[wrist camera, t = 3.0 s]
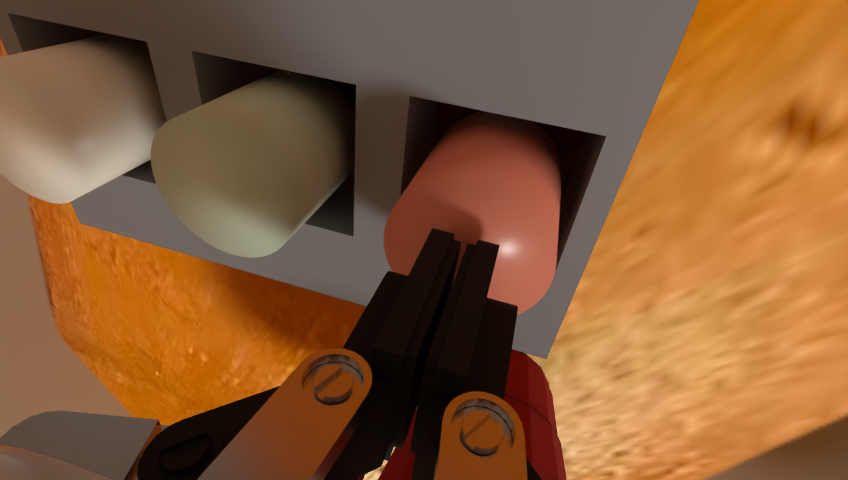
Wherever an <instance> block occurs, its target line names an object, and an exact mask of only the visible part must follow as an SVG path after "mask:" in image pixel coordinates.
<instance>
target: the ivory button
mask: <svg viewBox="0 0 848 480" xmlns="http://www.w3.org/2000/svg"><path fill="white" fill-rule="evenodd" d="M166 122H167V121H166V117H165V113H164V109H163V105H162V101H161V97H160V93H159V89H158V85H157V81H156V77H155V73H154V69H153V65H152V61H151V57H150V53H149V49H148V45H147V43H146V42H144V41H141V40H136V39H132V38H127V37H122V36H117V35H112V34H106V35H101V36H97V37H92V38H87V39H82V40H78V41H73V42H68V43H64V44H59V45H54V46H49V47H45V48H40V49H35V50H31V51H26V52H21V53H17V54H12V55H7V56H2V57H0V173H1V175H3V176H4V177H5V178H6V179H7V180H9V181H10V182H12V183H13V184H14V185H15V186H17V187H18V188H20V189H22V190H23V191H25V192H26V193H28V194H30V195H32V196H34V197H36V198H39V199H41V200H44V201H47V202H52V203H68V202H71V201H73V200H75V199H77V198H79V197H81V196H83V195H84V194H86V193H88V192H90V191H92V190H94V189H96V188H98V187H100V186H101V185H103V184H105V183H107V182H109V181H111V180H113V179H115V178H117V177H119V176H120V175H122V174H124V173H126V172H128V171H130V170H132V169H134V168H136V167H137V166H139V165H141V164H143V163H145V162H147V161H149V160H151V146H152V141H153V139H154V136H155V134H156V133H157V131H158V130H159V128H160V127H161V126H162V125H163V124H164V123H166Z"/></svg>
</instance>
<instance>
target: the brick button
mask: <svg viewBox="0 0 848 480" xmlns="http://www.w3.org/2000/svg"><path fill="white" fill-rule="evenodd" d="M561 185H562V165H561V160H560V156H559V153H558V151H557V148H556V147H555V145H554V143H553V141H552V140H551V139H550V137H549V136H548V135H547V134H546V133H545V131H544V130H543V129H542V128H540V127H539V126H538V125H536V124H535V123H534V122H532V121H530V120H525V119H520V118H516V117H511V116H506V115H501V114H496V113H491V112H486V111H483V112H478V113H474V114H471V115H468V116H466V117H464V118H462V119H460V120H459V121H457V122H455V123H454V124H453V125H452V126H450V127H449V128H448V129H447V130H446V131H445V132H444V134H443V135H442V136H441V138H440V139H439V141H438V142H437V144H436V145H435V147H434V148H433V150H432V151H431V153H430V154H429V156H428V157H427V159H426V160H425V161H424V163H423V164H422V166H421V167H420V169H419V170H418V172H417V173H416V175H415V176H414V178H413V179H412V181H411V182H410V184H409V185H408V187H407V188H406V190H405V191H404V193H403V194H402V196H401V197H400V199H399V200H398V202H397V203H396V204H395V206H394V207H393V209H392V211H391V213H390V214H389V216H388V219H387V222H386V225H385V230H384V250H385V255H386V258H387V261H388V264H389V266H390V268H391V270H392V272H396V273H399V274H403V275H407V276H408V275H409V273H410V271H411V269H412V267H413V265H414V263H415V261H416V259H417V257H418V255H419V253H420V251H421V249H422V247H423V245H424V243H425V241H426V239H427V237H428V235H429V233H430V231H431V230H432V228H435V229H439V230H443V231H446V232H450V233H454V240H458V241H461V247H460V252H459V257H458V262H457V267H456V272H455V276H454V280H455V277H456V275H457V272H458V269H459V266H460V263H461V261H462V258H463V255H464V252H465V249H466V247H467V244H468V243H470V244H474V245H476V244H477V241H478V240H482V241H486V242H490V243H494V244H498V245H500V246H499V250H498V254H497V258H496V262H495V267H494V271H493V275H492V279H491V283H490V287H489V291H488V295H487V298H491V299H494V300H498V301H502V302H505V303H509V304H513V305H516V306H518V312H517V315H518V314H521V313H523V312H525V311H526V310H528V309H530V308H531V307H532V306H534V305H535V304H536V303H537V302H538V301H539V300H540V299H541V298H542V297H543V296H544V295H545V293H546V292H547V290H548V289H549V287H550V285H551V283H552V281H553V278H554V274H555V271H556V261H557V246H558V231H559V215H560V200H561ZM453 283H454V281H453Z"/></svg>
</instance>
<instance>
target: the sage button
mask: <svg viewBox="0 0 848 480" xmlns="http://www.w3.org/2000/svg"><path fill="white" fill-rule="evenodd" d="M355 119H356V115H355V113H354V111H353V109H352V108H351V106H350V104H349V103H348V101H347V100H346V99H345V97H344V96H343V95H342V94H341V93H340V92H339V91H338V90H337V89H336V88H335V87H334V86H333V85H332V84H331V83H329V82H328V81H326V80H325V79H323V78H321V77H316V76H311V75H307V74H302V73H297V72H292V71H287V70H279V71H276V72H274V73H271V74H269V75H267V76H265V77H263V78H260V79H258V80H256V81H254V82H252V83H249V84H247V85H245V86H243V87H241V88H238V89H236V90H234V91H232V92H230V93H227V94H225V95H223V96H221V97H219V98H216V99H214V100H212V101H210V102H208V103H205V104H203V105H201V106H199V107H197V108H194V109H192V110H190V111H188V112H186V113H184V114H181V115H179V116H177V117H175V118H173V119H171V120H169V121H167V122H166V123H164V124H163V125H162V126H161V127H160V128H159V130H158V131H157V133H156V134H155V136H154V139H153V141H152V146H151V167H152V171H153V175H154V178H155V181H156V184H157V186H158V189H159V191H160V193H161V195H162V196H163V198H164V200H165V202H166V203H167V205H168V206H169V207H170V209H171V210H172V212H173V213H174V214H175V215H176V217H177V218H178V219H179V220H180V221H181V222H182V223H183V224H184V225H185V226H186V227H187V228H188V229H189V230H190V231H191V232H193V233H194V234H195V235H196V236H198V237H199V238H200V239H202V240H203V241H205V242H206V243H208V244H210V245H211V246H213V247H215V248H217V249H219V250H222V251H224V252H226V253H229V254H232V255H236V256H241V257H249V258H252V257H263V256H267V255H270V254H272V253H274V252H276V251H277V250H279V249H280V248H281V247H282V246H283V245H284V244H285V243H286V242H287V241H288V240H289V239H290V238H291V237H292V236H293V235H294V234H295V232H296V231H297V230H298V229H299V228H300V227H301V226H302V225H303V224H304V223H305V222H306V221H307V220H308V219H309V218H310V217H311V216H312V215H313V213H314V212H315V211H316V210H317V209H318V208H319V207H320V206H321V205H322V204H323V203H324V202H325V201H326V200H327V199H328V198H329V197H330V195H331V194H332V193H333V192H334V191H335V190H336V189H337V188H338V187H339V186H340V185H341V184H342V183H343V182H344V181H345V180H346V179H347V178H348V176H349V175H350V174H351V173H352V172H353V171H354V169H355Z"/></svg>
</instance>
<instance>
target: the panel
mask: <svg viewBox="0 0 848 480" xmlns="http://www.w3.org/2000/svg"><path fill="white" fill-rule="evenodd" d="M698 1H699V0H0V38H1V40H2V42H3V45H4V47H5V49H6V52H7V54H8V55H12V54H17V53H21V52H26V51H31V50H35V49H40V48H45V47H49V46H54V45H59V44H64V43H68V42H73V41H78V40H82V39H87V38H92V37H97V36H101V35H106V34H112V35H117V36H122V37H127V38H132V39H136V40H141V41H146V42H147V45H148V49H149V53H150V57H151V61H152V65H153V69H154V73H155V77H156V81H157V85H158V89H159V93H160V97H161V101H162V105H163V109H164V113H165V117H166V121H169V120H171V119H173V118H175V117H177V116H179V115H181V114H184V113H186V112H188V111H190V110H192V109H194V108H197V107H199V106H201V105H203V104H205V103H208V102H210V101H212V100H214V99H216V98H219V97H221V96H223V95H225V94H227V93H230V92H232V91H234V90H236V89H238V88H241V87H243V86H245V85H247V84H249V83H252V82H254V81H256V80H258V79H260V78H263V77H265V76H267V75H269V67H272V68H277V69H282V70H287V71H292V72H297V73H302V74H307V75H311V76H316V77H321V78H326V79H331V80H336V81H341V82H345V83H350V84H355V85H356V119H355V177H351V176H348V178H347V179H346V180H345V181H344V182H343V183H342V184H341V185H340V186H339V187H338V188H337V189H336V190H335V191H334V192H333V193H332V194H331V195H330V197H329V198H328V199H327V200H326V201H325V202H324V203H323V204H322V205H321V206H320V207H319V208H318V209H317V210H316V211H315V212H314V213H313V215H312V216H311V217H310V218H309V219H308V220H307V221H306V222H305V223H304V224H303V225H302V226H301V227H300V228H299V229H298V230H297V231H296V232H295V234H294V235H293V236H292V237H291V238H290V239H289V240H288V241H287V242H286V243H285V244H284V245H283V246H282V247H281V248H280V249H279V250H277V251H276V252H274V253H272V254H270V255H267V256H263V257H252V258H249V257H241V256H236V255H232V254H229V253H226V252H224V251H222V250H219V249H217V248H215V247H213V246H211V245H210V244H208V243H206V242H205V241H203V240H202V239H200V238H199V237H198V236H196V235H195V234H194V233H193V232H191V231H190V230H189V229H188V228H187V227H186V226H185V225H184V224H183V223H182V222H181V221H180V220H179V219H178V218H177V217H176V215H175V214H174V213H173V212H172V210H171V209H170V207H169V206H168V205H167V203H166V202H165V200H164V198H163V196H162V195H161V193H160V191H159V189H158V186H157V184H156V181H155V178H154V175H153V171H152V167H151V160H149V161H147V162H145V163H143V164H141V165H139V166H137V167H136V168H134V169H132V170H130V171H128V172H126V173H124V174H122V175H120V176H119V177H117V178H115V179H113V180H111V181H109V182H107V183H105V184H103V185H101V186H100V187H98V188H96V189H94V190H92V191H90V192H88V193H86V194H84V195H83V196H81V197H79V198H77V199H75V200H73V201H71V203H72V205H73V208H74V210H75V212H76V215H77V217H78V219H79V222H80V223H81V224H85V225H88V226H92V227H95V228H99V229H102V230H105V231H109V232H112V233H116V234H119V235H123V236H126V237H129V238H133V239H136V240H140V241H143V242H147V243H150V244H153V245H157V246H160V247H164V248H167V249H171V250H174V251H177V252H181V253H184V254H188V255H191V256H195V257H198V258H201V259H205V260H208V261H212V262H215V263H219V264H222V265H225V266H229V267H232V268H236V269H239V270H243V271H246V272H249V273H253V274H256V275H260V276H263V277H267V278H270V279H273V280H277V281H280V282H284V283H287V284H291V285H294V286H297V287H301V288H304V289H308V290H311V291H315V292H318V293H321V294H325V295H328V296H332V297H335V298H339V299H342V300H345V301H349V302H352V303H356V304H359V305H363V306H366V307H367V305H368V304H369V302H370V300H371V298H372V297H373V295H374V293H375V291H376V290H377V288H378V286H379V284H380V283H381V281H382V279H383V277H384V276H385V274H386V273H387V272H388V271H392V270H391V268H390V266H389V264H388V261H387V258H386V255H385V250H384V230H385V225H386V222H387V219H388V216H389V214H390V213H391V211H392V209H393V207H394V206H395V204H396V203H397V202H398V200H399V199H400V197H401V196H402V194H403V193H404V191H405V190H406V188H407V187H408V185H409V184H410V182H411V181H412V179H413V178H414V176H415V175H416V173H417V172H418V170H419V169H420V167H421V166H422V164H423V163H424V161H425V160H426V159H427V157H428V156H429V154H430V153H431V151H432V149H433V141H434V133H435V126H436V118H437V110H438V102H443V103H447V104H452V105H457V106H462V107H467V108H472V109H477V110H481V111H486V112H491V113H496V114H501V115H506V116H511V117H516V118H520V119H525V120H530V121H535V122H540V123H545V124H550V125H554V126H559V127H564V128H569V129H574V130H579V131H584V132H587V133H586V135H585V138H584V141H583V144H582V147H581V150H580V153H579V156H578V159H577V161H576V164H575V167H574V170H573V173H572V176H571V179H570V182H569V185H568V188H567V190H566V193H565V196H564V199H563V202H562V205H561V208H560V215H559V231H558V246H557V261H556V271H555V274H554V278H553V281H552V283H551V285H550V287H549V289H548V290H547V292H546V293H545V295H544V296H543V297H542V298H541V299H540V300H539V301H538V302H537V303H536V304H535V305H534V306H532V307H531V308H530V309H528V310H526V311H525V312H523V313H521V314H518V315H517V319H516V325H515V332H514V338H513V345H512V349H514V350H517V351H520V352H524V353H527V354H531V355H534V356H538V357H541V358H544V359H547V356H548V354H549V352H550V349H551V347H552V345H553V342H554V340H555V337H556V335H557V333H558V330H559V328H560V326H561V323H562V321H563V319H564V316H565V314H566V312H567V309H568V307H569V305H570V302H571V300H572V297H573V295H574V293H575V290H576V288H577V286H578V283H579V281H580V279H581V276H582V274H583V272H584V269H585V267H586V265H587V262H588V260H589V257H590V255H591V253H592V250H593V248H594V246H595V243H596V241H597V239H598V236H599V234H600V232H601V229H602V227H603V225H604V222H605V220H606V217H607V215H608V213H609V210H610V208H611V206H612V203H613V201H614V199H615V196H616V194H617V192H618V189H619V187H620V185H621V182H622V180H623V178H624V175H625V173H626V170H627V168H628V166H629V163H630V161H631V159H632V156H633V154H634V152H635V149H636V147H637V145H638V142H639V140H640V138H641V135H642V133H643V130H644V128H645V126H646V123H647V121H648V119H649V116H650V114H651V112H652V109H653V107H654V105H655V102H656V100H657V98H658V95H659V93H660V90H661V88H662V86H663V83H664V81H665V79H666V76H667V74H668V72H669V69H670V67H671V65H672V62H673V60H674V58H675V55H676V53H677V50H678V48H679V46H680V43H681V41H682V39H683V36H684V34H685V32H686V29H687V27H688V25H689V22H690V20H691V18H692V15H693V13H694V10H695V8H696V6H697V3H698Z"/></svg>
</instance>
